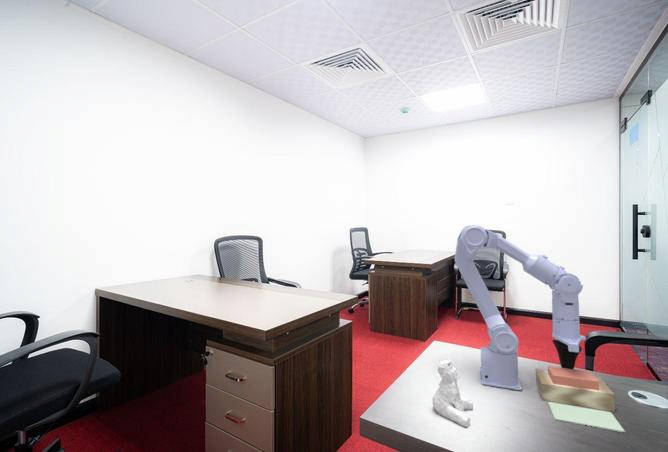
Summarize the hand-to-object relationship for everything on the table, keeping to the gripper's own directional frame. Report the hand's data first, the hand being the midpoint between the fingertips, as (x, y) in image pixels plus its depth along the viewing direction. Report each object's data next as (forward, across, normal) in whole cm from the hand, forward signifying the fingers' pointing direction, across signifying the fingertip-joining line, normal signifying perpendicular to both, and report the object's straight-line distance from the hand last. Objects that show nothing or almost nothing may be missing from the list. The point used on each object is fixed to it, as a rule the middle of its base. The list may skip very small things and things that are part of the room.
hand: (567, 370), depth 84 cm
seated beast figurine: (+5, -22, +27) cm, 36 cm away
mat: (+5, -13, 0) cm, 14 cm away
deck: (+5, -4, 0) cm, 6 cm away
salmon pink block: (+1, -4, 0) cm, 5 cm away
